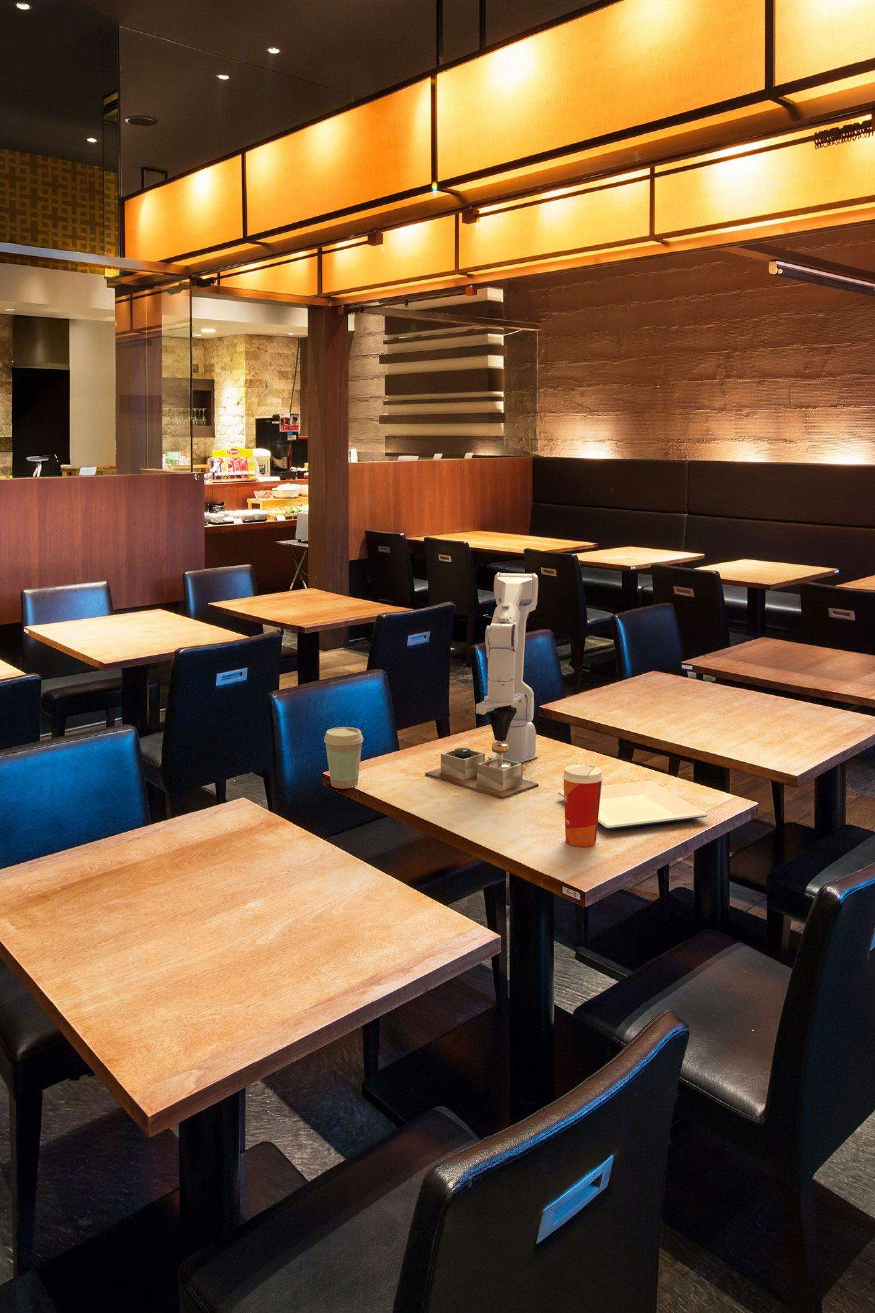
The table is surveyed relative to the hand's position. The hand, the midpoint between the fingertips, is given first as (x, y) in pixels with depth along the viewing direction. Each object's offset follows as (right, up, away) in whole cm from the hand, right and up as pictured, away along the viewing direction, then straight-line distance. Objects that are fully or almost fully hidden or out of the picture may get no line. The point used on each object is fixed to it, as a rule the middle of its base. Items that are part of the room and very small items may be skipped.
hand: (500, 740), depth 219 cm
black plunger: (-8, -8, +9) cm, 15 cm away
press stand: (-4, -9, +6) cm, 12 cm away
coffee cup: (-34, -10, +3) cm, 36 cm away
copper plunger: (0, -6, +1) cm, 6 cm away
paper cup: (+13, -17, -30) cm, 36 cm away
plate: (+26, -14, -13) cm, 32 cm away
